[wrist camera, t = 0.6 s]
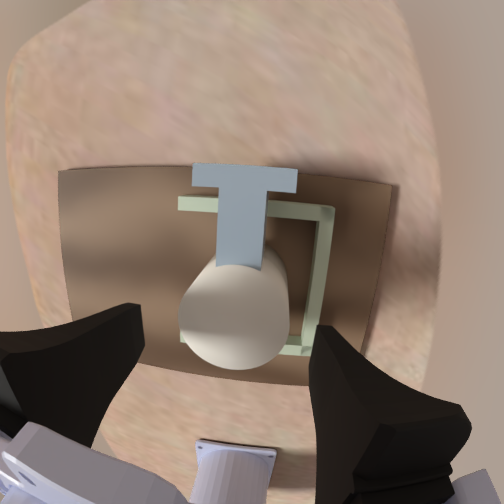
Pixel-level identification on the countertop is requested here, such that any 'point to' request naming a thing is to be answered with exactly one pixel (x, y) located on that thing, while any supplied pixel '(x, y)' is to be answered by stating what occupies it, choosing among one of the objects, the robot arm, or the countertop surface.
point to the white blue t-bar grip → (239, 272)
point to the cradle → (319, 259)
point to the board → (204, 248)
